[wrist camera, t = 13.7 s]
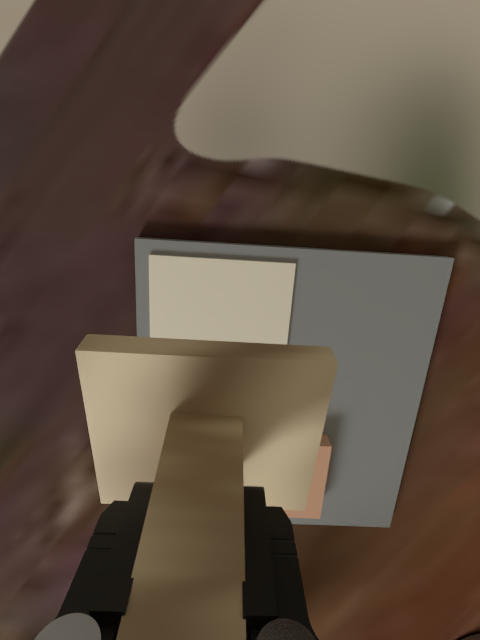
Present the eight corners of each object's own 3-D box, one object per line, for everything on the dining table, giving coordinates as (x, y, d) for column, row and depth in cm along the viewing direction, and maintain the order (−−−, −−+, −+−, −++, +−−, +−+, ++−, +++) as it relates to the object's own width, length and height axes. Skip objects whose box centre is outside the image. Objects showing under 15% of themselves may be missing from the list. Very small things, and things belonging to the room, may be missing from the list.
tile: (214, 427, 29) (326, 432, 29) (211, 498, 31) (315, 502, 31) (213, 441, 27) (331, 446, 28) (210, 514, 30) (320, 518, 30)
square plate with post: (330, 346, 12) (724, 1254, 2) (301, 488, 15) (413, 1120, 6) (87, 334, 12) (-633, 1299, 2) (109, 481, 15) (-131, 1132, 5)
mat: (446, 256, 26) (454, 258, 25) (385, 518, 33) (389, 527, 32) (138, 237, 25) (134, 238, 24) (144, 509, 33) (141, 518, 32)
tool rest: (295, 262, 25) (295, 263, 25) (281, 391, 28) (281, 393, 28) (149, 254, 25) (148, 254, 24) (151, 385, 28) (150, 387, 28)
